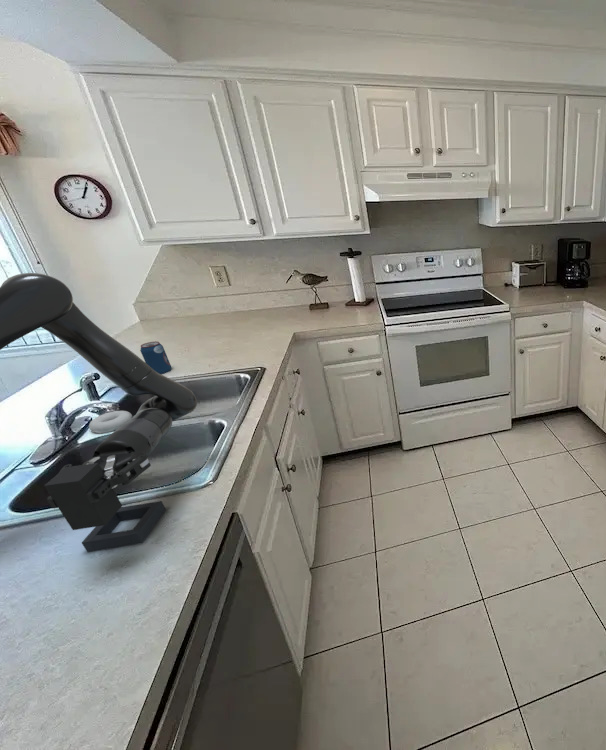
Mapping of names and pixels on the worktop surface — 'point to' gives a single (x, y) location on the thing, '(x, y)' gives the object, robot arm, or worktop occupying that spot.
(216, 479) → the worktop surface
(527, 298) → the worktop surface
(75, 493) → the dark matte cube
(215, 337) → the worktop surface
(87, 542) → the dark square frame
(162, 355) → the soda can
